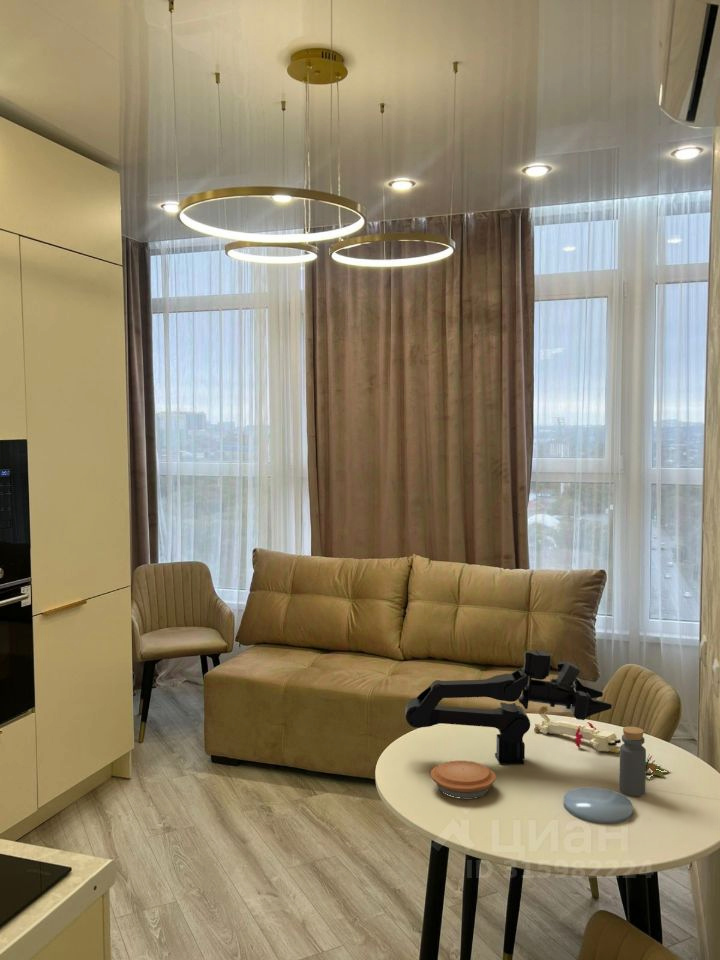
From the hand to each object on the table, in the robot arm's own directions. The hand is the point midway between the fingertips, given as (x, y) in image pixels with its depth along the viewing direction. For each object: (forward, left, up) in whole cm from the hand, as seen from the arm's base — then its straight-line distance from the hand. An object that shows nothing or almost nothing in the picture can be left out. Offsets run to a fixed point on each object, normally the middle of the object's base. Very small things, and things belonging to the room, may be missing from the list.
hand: (606, 700), depth 206 cm
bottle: (0, -18, -16) cm, 24 cm away
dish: (-11, -26, -16) cm, 32 cm away
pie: (-40, -15, -17) cm, 46 cm away
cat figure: (-3, +14, -17) cm, 22 cm away
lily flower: (+8, -6, -17) cm, 20 cm away
